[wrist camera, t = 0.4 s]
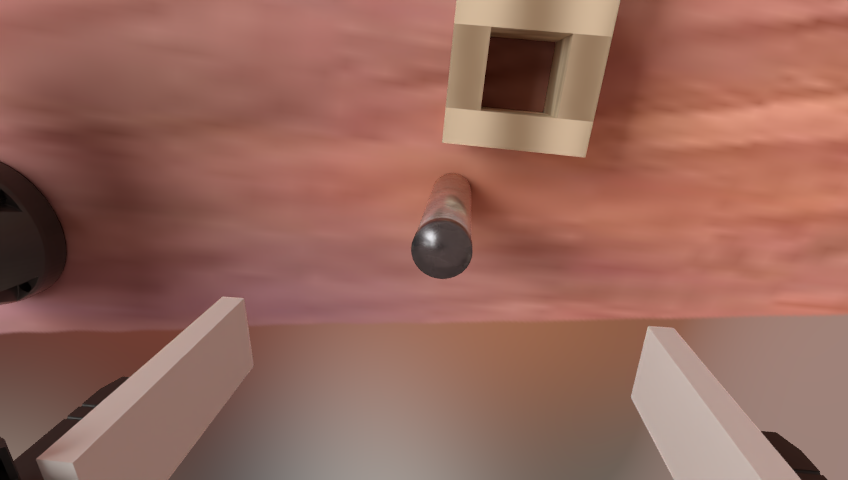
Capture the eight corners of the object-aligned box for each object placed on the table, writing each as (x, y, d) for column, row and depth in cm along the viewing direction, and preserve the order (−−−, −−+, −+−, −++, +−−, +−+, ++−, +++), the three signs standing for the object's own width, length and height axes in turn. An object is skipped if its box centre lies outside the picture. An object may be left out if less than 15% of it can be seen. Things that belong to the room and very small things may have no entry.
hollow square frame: (446, 133, 36) (442, 142, 30) (460, -2, 32) (458, -20, 26) (567, 145, 35) (585, 157, 29) (594, 9, 31) (621, -7, 26)
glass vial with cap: (430, 209, 38) (409, 274, 25) (434, 170, 37) (414, 218, 24) (469, 213, 38) (468, 282, 25) (474, 174, 37) (476, 225, 23)
